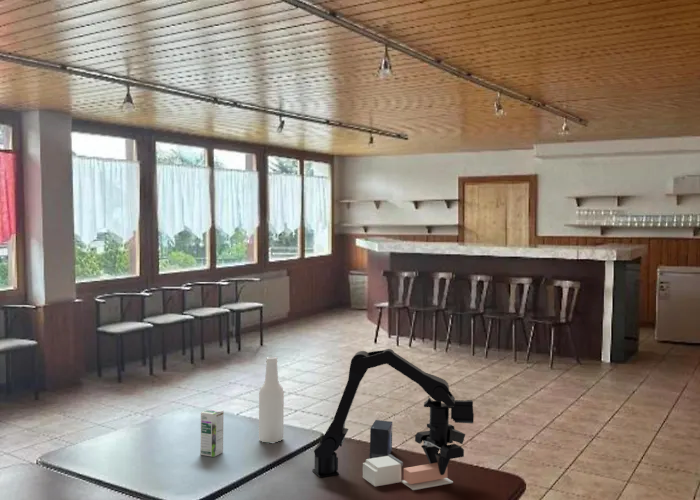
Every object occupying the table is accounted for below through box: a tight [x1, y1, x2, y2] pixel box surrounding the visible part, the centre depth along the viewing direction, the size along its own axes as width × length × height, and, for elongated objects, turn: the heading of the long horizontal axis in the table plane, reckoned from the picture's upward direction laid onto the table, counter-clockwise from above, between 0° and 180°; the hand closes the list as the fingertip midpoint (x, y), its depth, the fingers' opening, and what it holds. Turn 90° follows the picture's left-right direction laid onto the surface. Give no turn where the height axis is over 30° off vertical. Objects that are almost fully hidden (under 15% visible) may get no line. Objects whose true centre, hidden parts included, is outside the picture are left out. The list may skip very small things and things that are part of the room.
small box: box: [368, 419, 393, 459], centre depth 224 cm, size 11×6×10 cm, turn 168°
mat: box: [400, 477, 454, 491], centre depth 200 cm, size 14×7×1 cm, turn 115°
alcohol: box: [258, 356, 285, 443], centre depth 238 cm, size 9×9×30 cm
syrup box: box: [199, 408, 225, 458], centre depth 223 cm, size 6×6×14 cm
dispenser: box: [362, 453, 404, 487], centre depth 202 cm, size 10×8×6 cm
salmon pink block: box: [403, 463, 448, 484], centre depth 199 cm, size 13×4×4 cm, turn 115°
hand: (438, 472), depth 201 cm, fingers closed on salmon pink block, 4 cm apart
